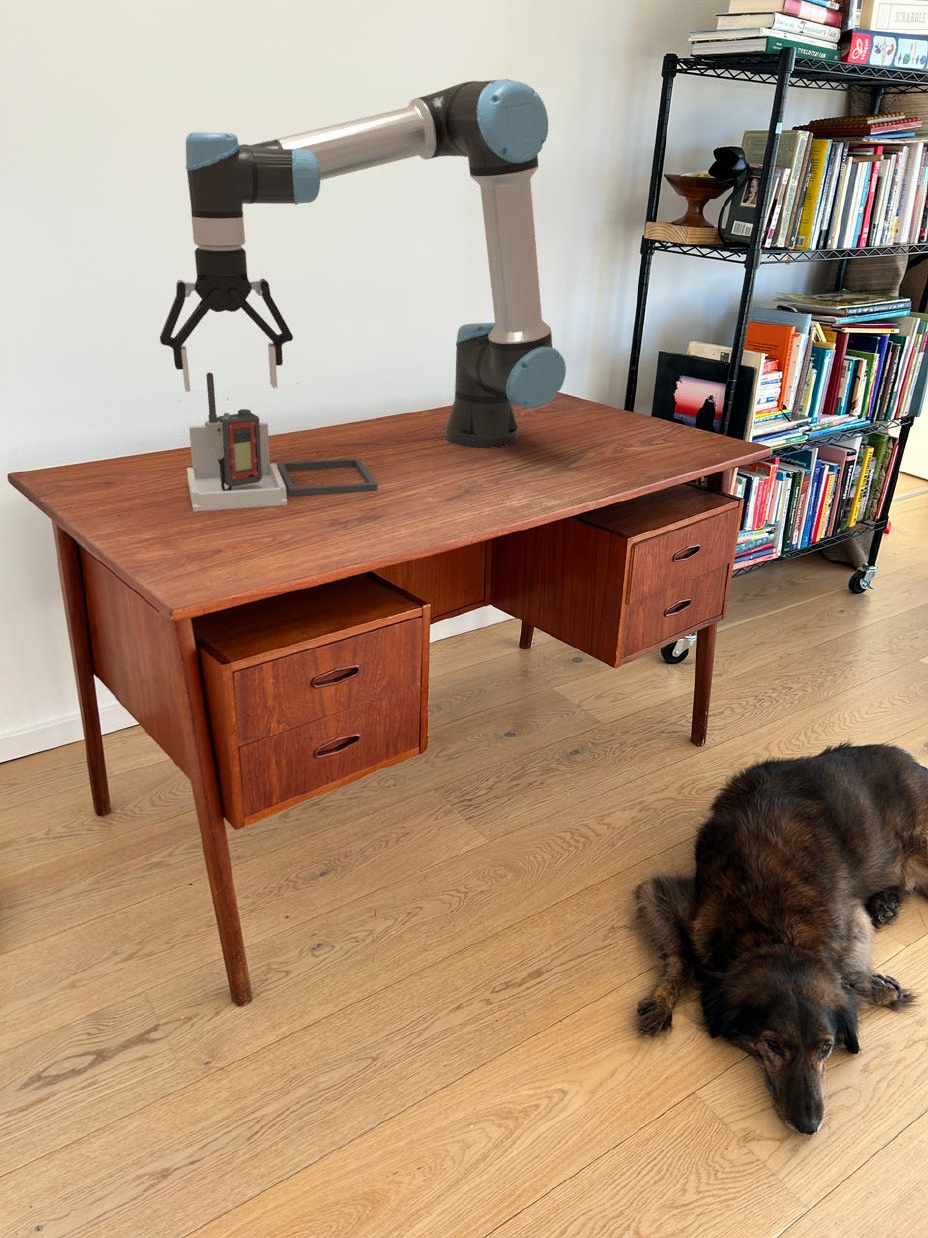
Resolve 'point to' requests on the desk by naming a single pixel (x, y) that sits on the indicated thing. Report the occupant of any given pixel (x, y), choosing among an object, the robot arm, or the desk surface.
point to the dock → (210, 492)
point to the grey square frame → (328, 489)
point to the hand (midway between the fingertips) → (231, 387)
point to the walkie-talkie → (234, 443)
